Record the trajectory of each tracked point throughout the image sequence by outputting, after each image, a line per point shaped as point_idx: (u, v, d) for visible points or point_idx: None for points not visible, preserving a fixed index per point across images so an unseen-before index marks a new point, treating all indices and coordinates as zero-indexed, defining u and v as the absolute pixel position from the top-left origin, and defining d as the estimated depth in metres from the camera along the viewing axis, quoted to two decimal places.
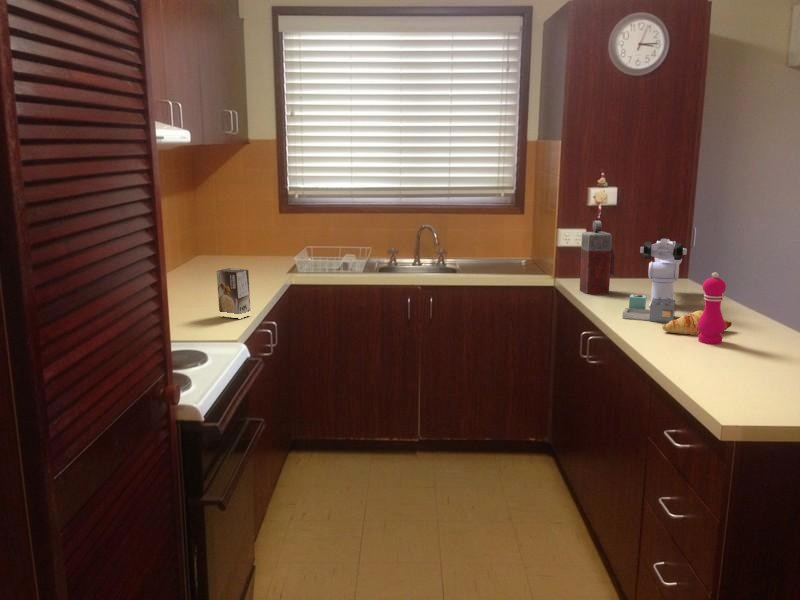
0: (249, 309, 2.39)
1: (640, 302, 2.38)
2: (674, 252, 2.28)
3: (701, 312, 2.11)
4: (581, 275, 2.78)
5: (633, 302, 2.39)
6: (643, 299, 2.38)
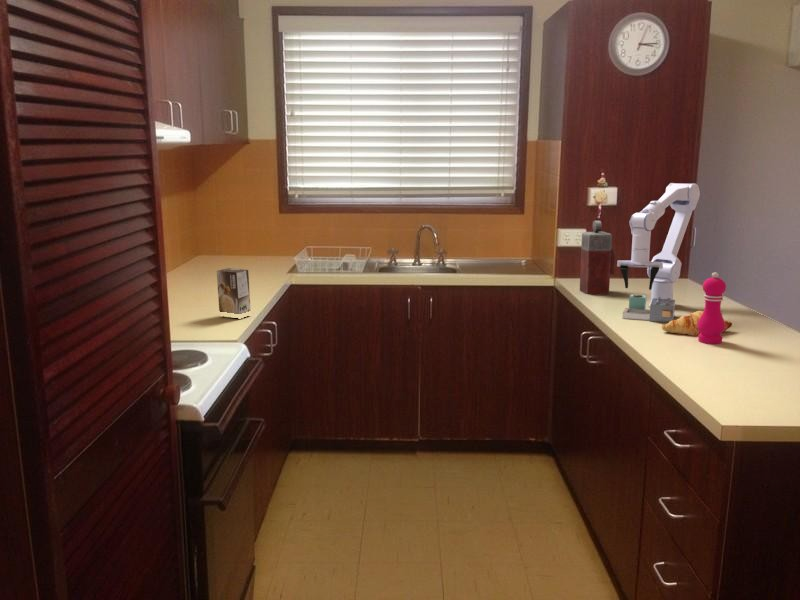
0: (249, 309, 2.39)
1: (640, 302, 2.38)
2: None
3: (701, 312, 2.11)
4: (581, 275, 2.78)
5: (633, 302, 2.39)
6: (643, 299, 2.38)
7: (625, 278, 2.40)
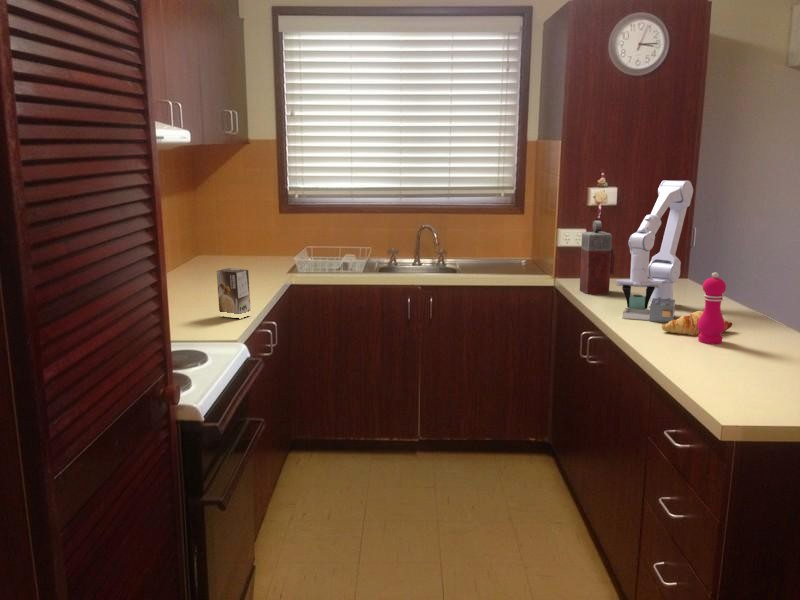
0: (249, 309, 2.39)
1: (640, 302, 2.38)
2: None
3: (701, 312, 2.11)
4: (581, 275, 2.78)
5: (633, 302, 2.39)
6: (643, 299, 2.38)
7: (627, 298, 2.41)
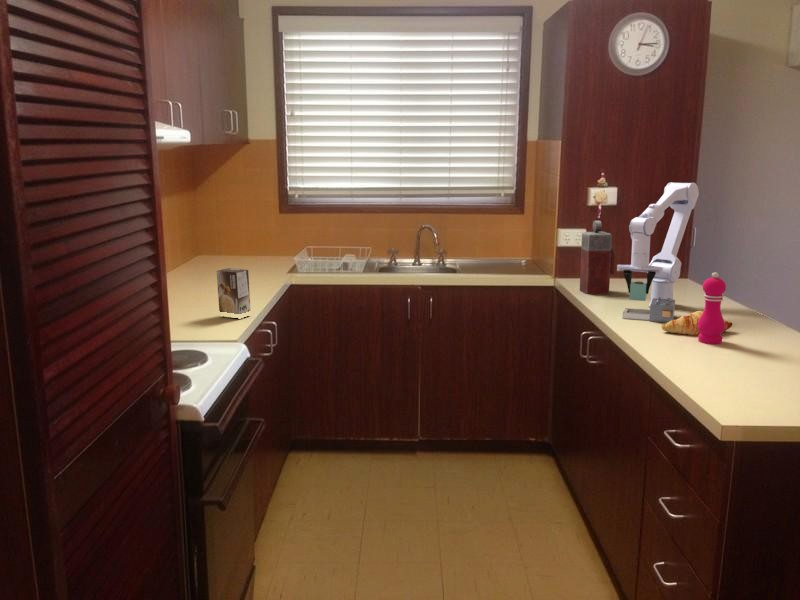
0: (249, 309, 2.39)
1: (641, 289, 2.37)
2: None
3: (701, 312, 2.11)
4: (581, 275, 2.78)
5: (634, 289, 2.38)
6: (644, 286, 2.37)
7: (628, 283, 2.40)
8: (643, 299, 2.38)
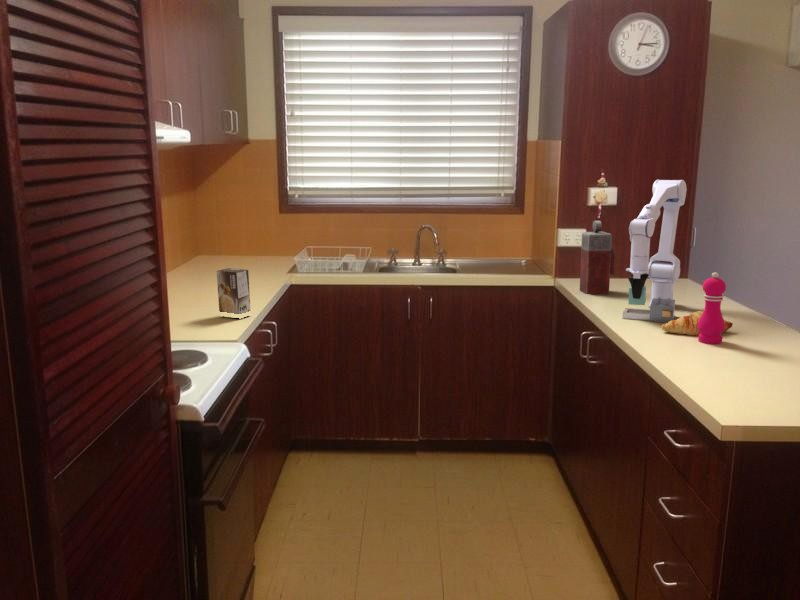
0: (249, 309, 2.39)
1: None
2: (636, 298, 2.30)
3: (701, 312, 2.11)
4: (581, 275, 2.78)
5: None
6: (629, 289, 2.32)
7: None
8: None
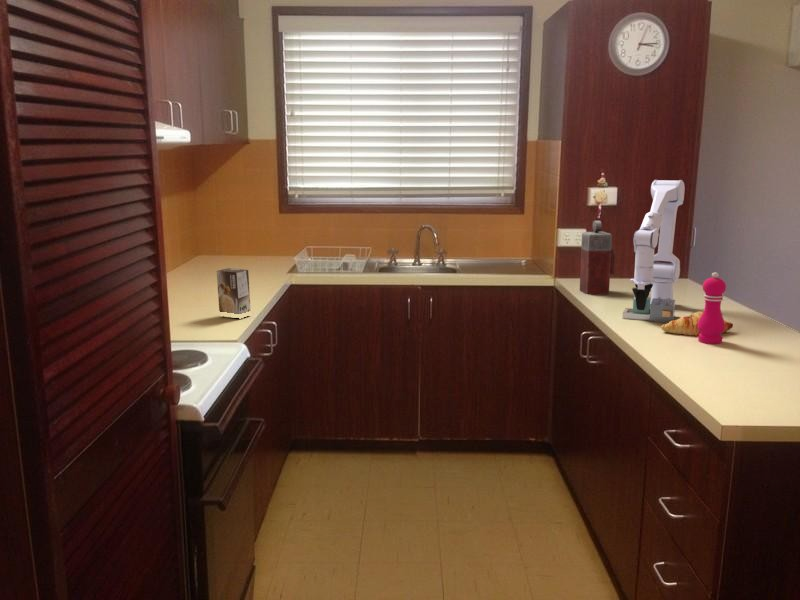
0: (249, 309, 2.39)
1: None
2: None
3: (701, 313, 2.11)
4: (581, 275, 2.78)
5: None
6: None
7: None
8: None
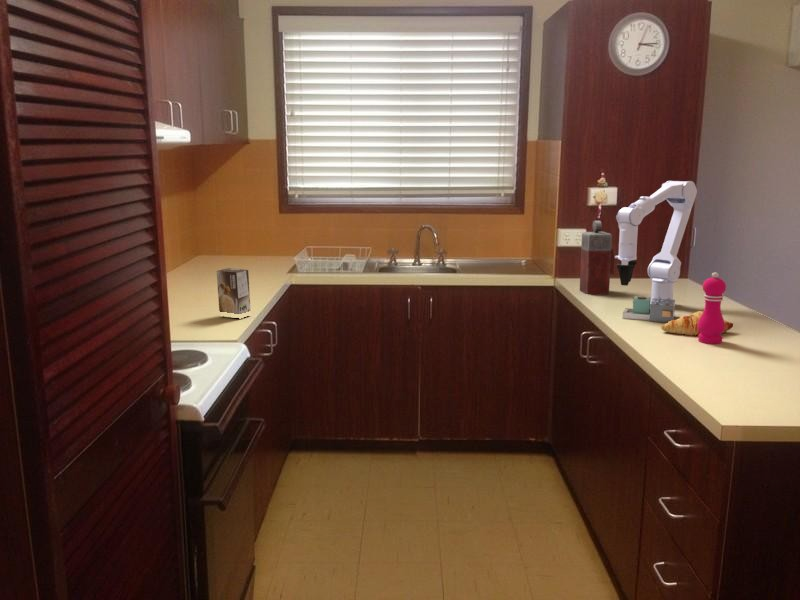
0: (249, 309, 2.39)
1: None
2: None
3: (701, 313, 2.10)
4: (581, 275, 2.78)
5: None
6: None
7: None
8: None
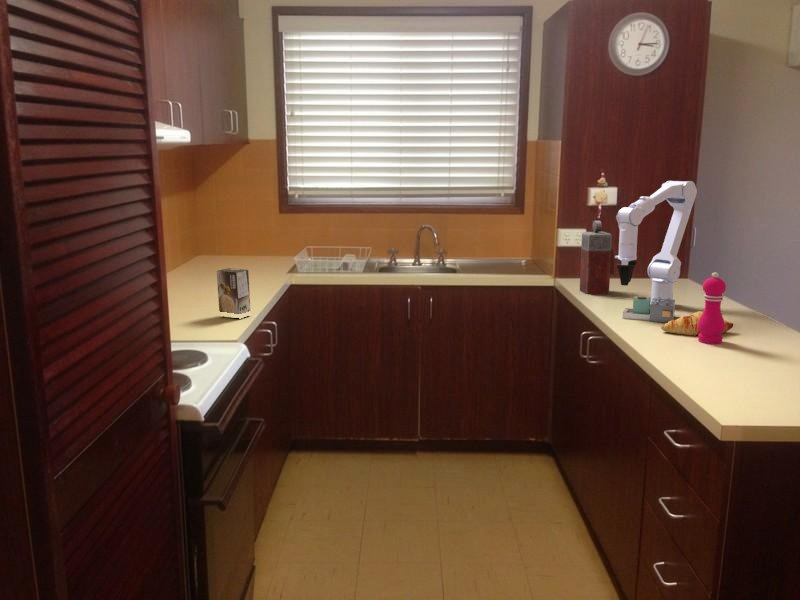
0: (249, 309, 2.39)
1: None
2: None
3: (701, 313, 2.10)
4: (581, 275, 2.78)
5: None
6: None
7: None
8: None
